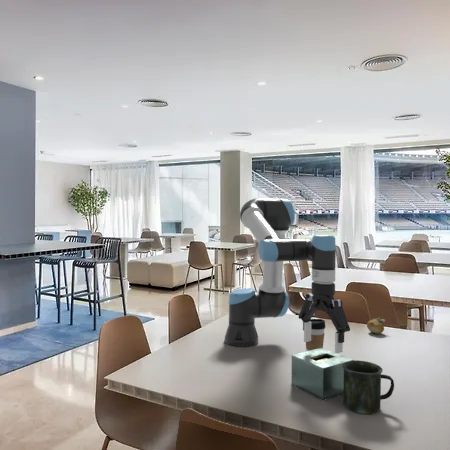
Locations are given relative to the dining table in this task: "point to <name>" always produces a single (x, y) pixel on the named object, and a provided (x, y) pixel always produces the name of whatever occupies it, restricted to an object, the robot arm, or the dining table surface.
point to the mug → (364, 386)
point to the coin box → (319, 373)
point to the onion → (376, 325)
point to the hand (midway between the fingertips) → (322, 346)
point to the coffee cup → (316, 334)
